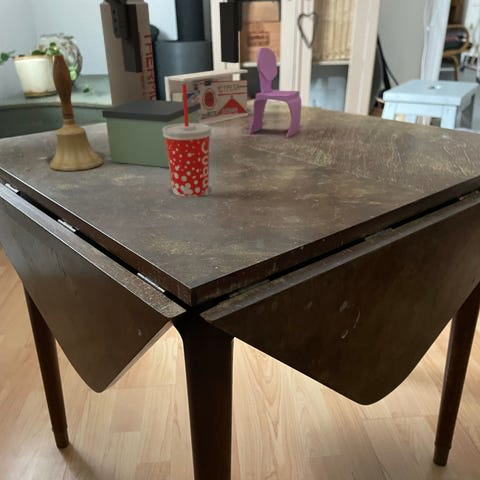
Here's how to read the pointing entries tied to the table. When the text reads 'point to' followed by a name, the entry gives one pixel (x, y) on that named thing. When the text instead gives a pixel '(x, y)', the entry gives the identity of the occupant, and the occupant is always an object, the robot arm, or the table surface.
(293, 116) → the toy chair
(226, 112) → the cigarette display
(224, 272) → the table surface
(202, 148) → the beverage cup
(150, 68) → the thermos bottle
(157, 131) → the storage box
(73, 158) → the hand bell
